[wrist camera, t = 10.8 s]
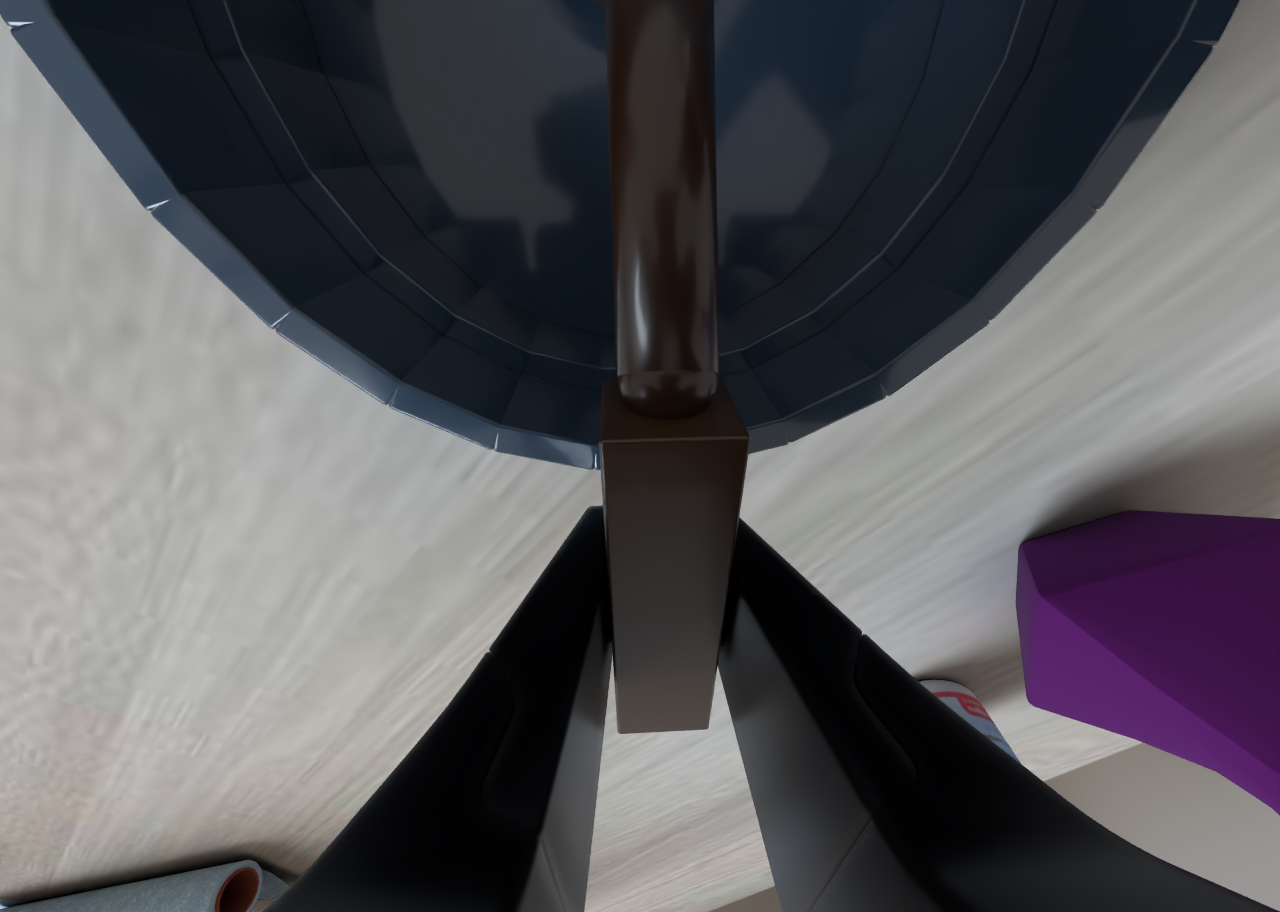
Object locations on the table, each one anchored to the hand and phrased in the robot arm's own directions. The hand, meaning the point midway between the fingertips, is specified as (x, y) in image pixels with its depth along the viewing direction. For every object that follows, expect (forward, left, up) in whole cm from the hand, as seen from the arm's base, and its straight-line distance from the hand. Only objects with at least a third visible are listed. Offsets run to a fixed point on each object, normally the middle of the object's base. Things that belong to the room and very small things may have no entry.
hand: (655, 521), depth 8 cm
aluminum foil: (+36, +40, -6) cm, 54 cm away
